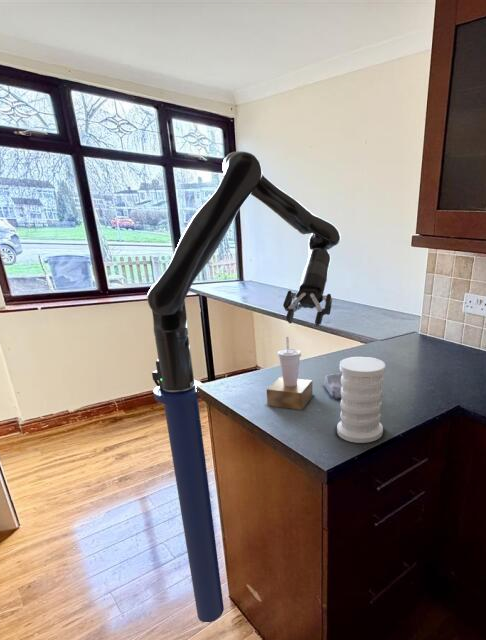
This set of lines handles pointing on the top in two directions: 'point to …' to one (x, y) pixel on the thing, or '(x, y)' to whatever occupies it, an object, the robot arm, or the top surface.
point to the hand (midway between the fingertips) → (302, 323)
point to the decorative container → (361, 399)
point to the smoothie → (289, 365)
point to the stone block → (333, 385)
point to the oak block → (289, 394)
